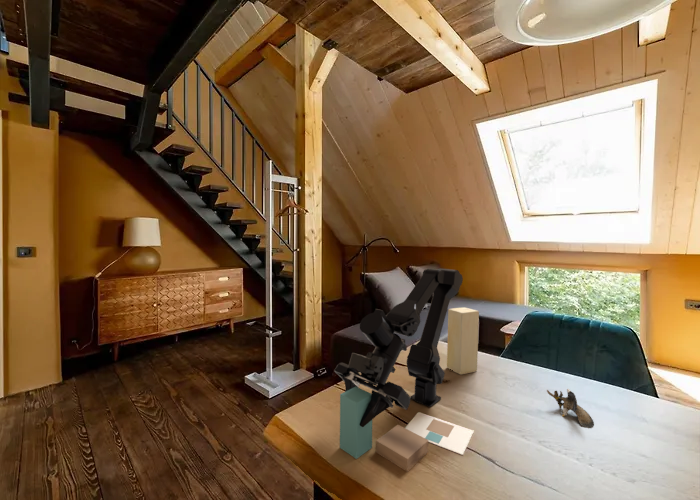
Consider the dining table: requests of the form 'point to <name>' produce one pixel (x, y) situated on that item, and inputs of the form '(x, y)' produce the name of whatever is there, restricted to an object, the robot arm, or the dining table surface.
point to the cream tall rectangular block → (462, 340)
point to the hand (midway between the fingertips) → (351, 420)
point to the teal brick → (354, 422)
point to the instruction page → (441, 432)
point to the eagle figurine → (573, 407)
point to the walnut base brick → (402, 447)
